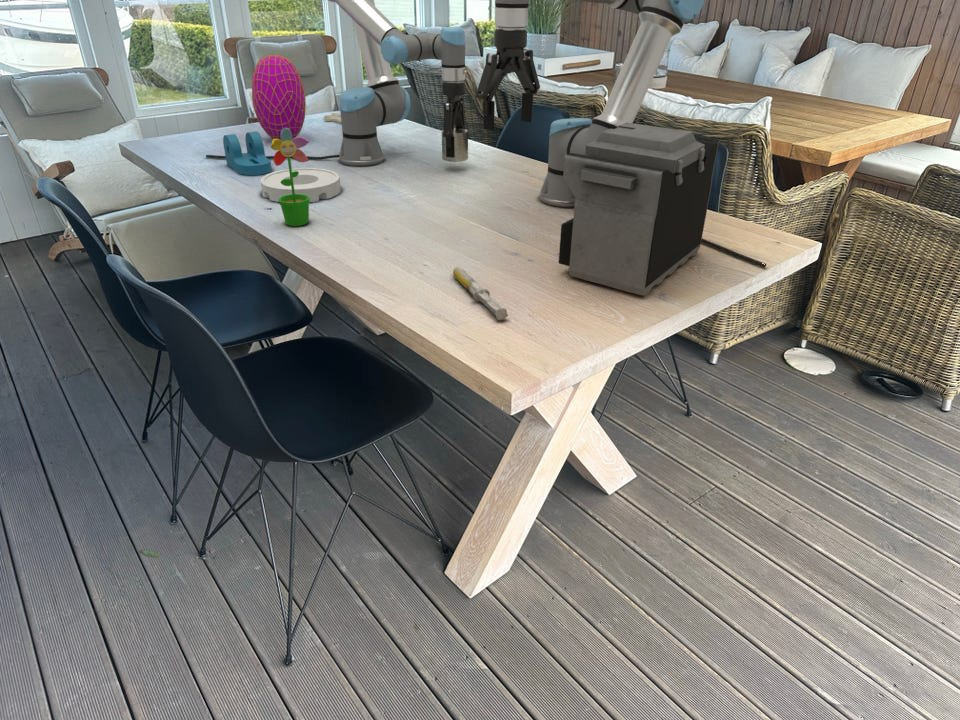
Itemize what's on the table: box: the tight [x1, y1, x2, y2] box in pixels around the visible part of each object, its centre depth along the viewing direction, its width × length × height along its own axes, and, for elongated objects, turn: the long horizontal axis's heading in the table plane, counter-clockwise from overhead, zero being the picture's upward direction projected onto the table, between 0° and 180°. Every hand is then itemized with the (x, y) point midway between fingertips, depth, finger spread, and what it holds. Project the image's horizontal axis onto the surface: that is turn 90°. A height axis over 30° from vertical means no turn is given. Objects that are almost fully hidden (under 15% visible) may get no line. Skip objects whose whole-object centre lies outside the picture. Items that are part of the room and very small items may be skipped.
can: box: [441, 127, 469, 163], centre depth 227 cm, size 9×9×9 cm
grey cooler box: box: [558, 122, 720, 297], centre depth 154 cm, size 37×22×30 cm, turn 144°
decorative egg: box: [251, 54, 307, 141], centre depth 257 cm, size 19×19×30 cm
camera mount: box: [222, 131, 272, 176], centre depth 226 cm, size 18×10×10 cm, turn 35°
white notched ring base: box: [260, 167, 342, 203], centre depth 207 cm, size 23×23×4 cm
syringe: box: [452, 266, 509, 321], centre depth 145 cm, size 25×4×3 cm, turn 21°
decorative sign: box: [323, 113, 342, 124], centre depth 294 cm, size 26×1×10 cm
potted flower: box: [270, 128, 310, 227], centre depth 177 cm, size 9×8×25 cm
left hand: (454, 153), depth 229 cm, fingers closed on can, 9 cm apart
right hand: (507, 125), depth 166 cm, fingers open, 13 cm apart
